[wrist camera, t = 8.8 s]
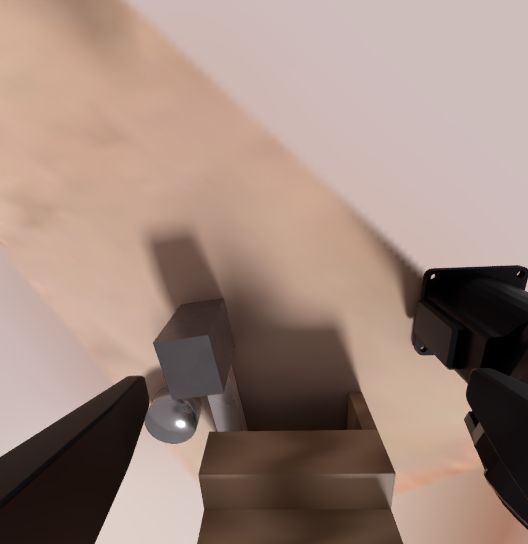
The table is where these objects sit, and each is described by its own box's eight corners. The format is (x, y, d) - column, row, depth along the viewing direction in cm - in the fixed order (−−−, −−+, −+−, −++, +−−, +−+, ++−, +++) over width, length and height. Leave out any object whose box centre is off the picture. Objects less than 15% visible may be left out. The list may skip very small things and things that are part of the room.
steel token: (197, 382, 23) (190, 401, 21) (206, 421, 24) (200, 442, 22) (149, 386, 23) (138, 405, 21) (161, 424, 24) (151, 445, 22)
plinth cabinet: (361, 392, 22) (421, 536, 13) (357, 449, 24) (408, 609, 15) (218, 395, 23) (183, 535, 14) (225, 450, 25) (198, 605, 16)
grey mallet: (223, 298, 20) (208, 335, 15) (255, 431, 24) (250, 493, 19) (180, 304, 20) (152, 342, 16) (218, 435, 24) (205, 497, 20)
